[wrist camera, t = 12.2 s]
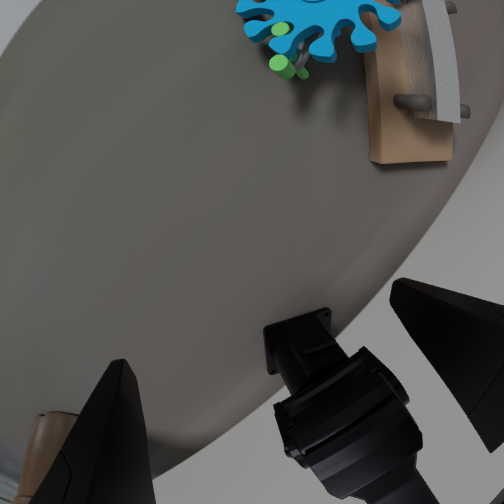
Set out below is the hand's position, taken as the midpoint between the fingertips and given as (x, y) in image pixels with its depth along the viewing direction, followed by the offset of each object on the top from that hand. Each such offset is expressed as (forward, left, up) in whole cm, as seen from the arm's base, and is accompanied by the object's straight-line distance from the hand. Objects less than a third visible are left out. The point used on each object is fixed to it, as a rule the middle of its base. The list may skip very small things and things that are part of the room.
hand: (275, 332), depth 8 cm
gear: (+13, -7, -12) cm, 19 cm away
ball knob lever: (+14, -18, -10) cm, 25 cm away
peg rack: (+12, -18, -12) cm, 25 cm away
